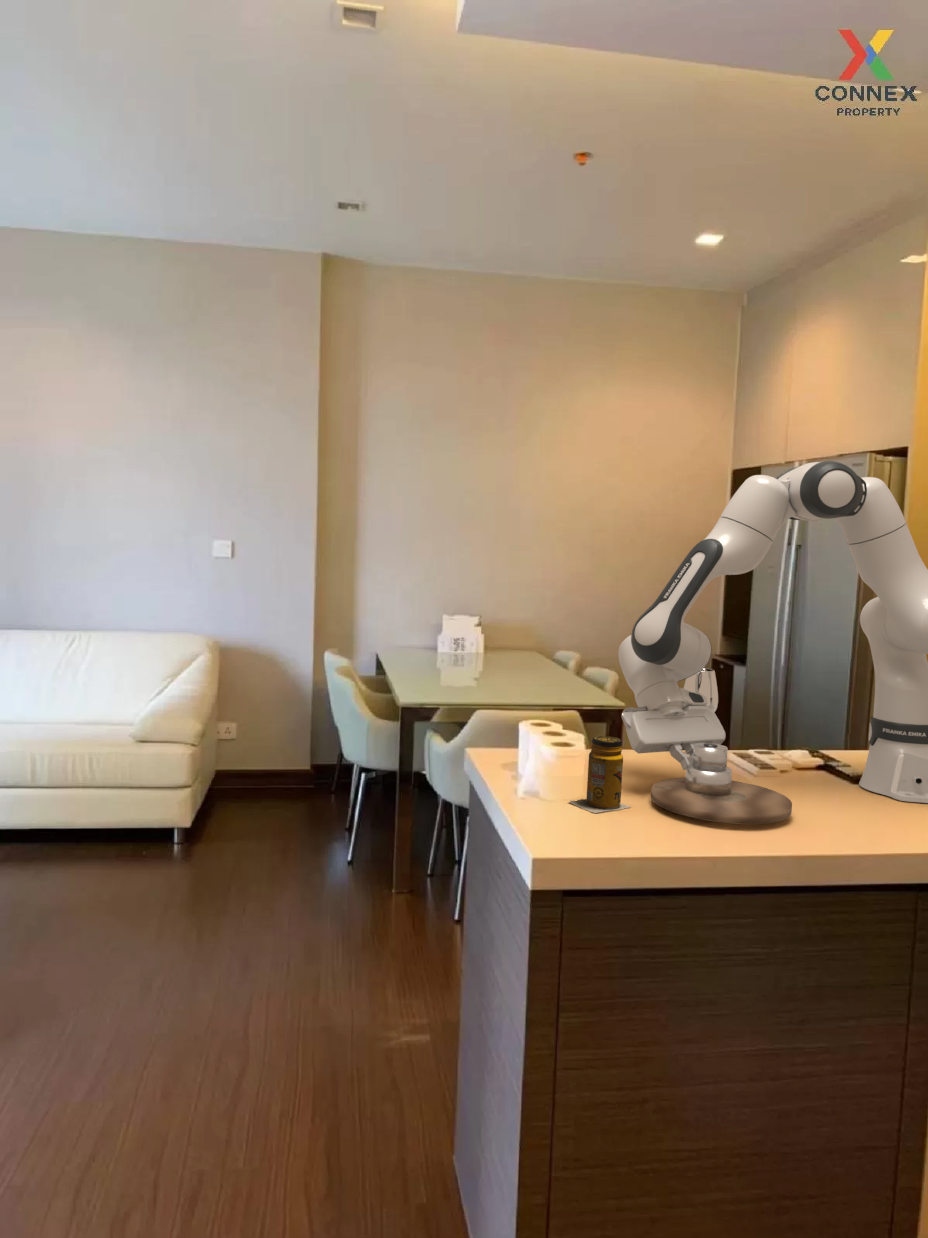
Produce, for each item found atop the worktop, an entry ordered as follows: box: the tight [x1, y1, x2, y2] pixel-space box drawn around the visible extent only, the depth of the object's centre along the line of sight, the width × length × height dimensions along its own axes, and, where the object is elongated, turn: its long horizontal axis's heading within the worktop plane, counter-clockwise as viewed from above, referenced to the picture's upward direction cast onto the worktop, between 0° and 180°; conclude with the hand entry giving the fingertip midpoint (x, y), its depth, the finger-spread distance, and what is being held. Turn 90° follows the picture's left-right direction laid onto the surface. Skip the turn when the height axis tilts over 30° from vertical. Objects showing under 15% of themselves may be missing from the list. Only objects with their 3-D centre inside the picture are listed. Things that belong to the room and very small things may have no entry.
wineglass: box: [683, 667, 719, 757], centre depth 196 cm, size 8×8×20 cm
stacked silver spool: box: [685, 743, 733, 796], centre depth 159 cm, size 8×8×8 cm
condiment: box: [569, 735, 631, 814], centre depth 156 cm, size 7×8×12 cm
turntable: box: [650, 777, 793, 825], centre depth 157 cm, size 24×24×2 cm
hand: (692, 767), depth 164 cm, fingers closed, pressing on stacked silver spool
